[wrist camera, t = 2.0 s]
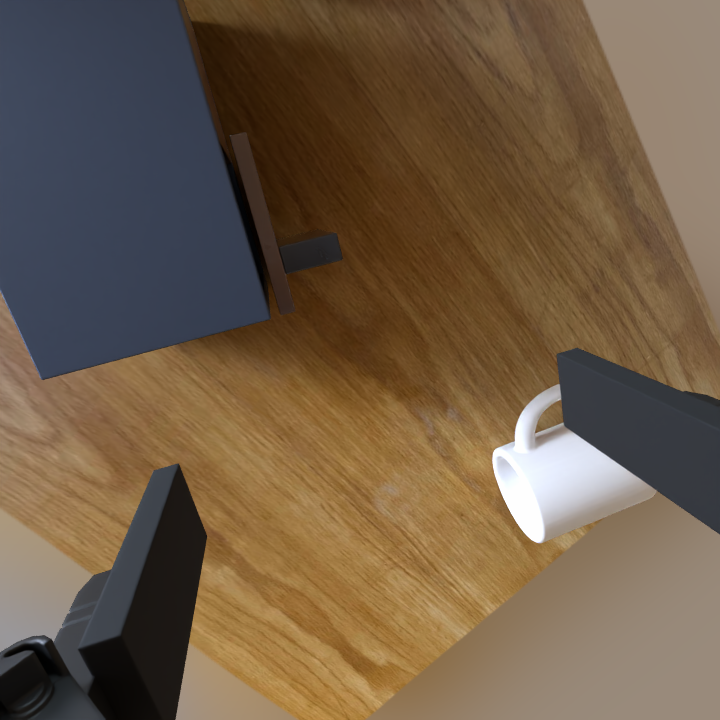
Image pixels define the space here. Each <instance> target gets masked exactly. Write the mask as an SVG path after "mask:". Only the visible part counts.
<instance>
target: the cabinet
mask: <svg viewBox="0 0 720 720" xmlns="http://www.w3.org/2000/svg"><path fill="white" fill-rule="evenodd" d="M0 292H1V294H2V296H3V298H4V300H5V302H6V304H7V307H8V309H9V311H10V313H11V315H12V317H13V320H14V322H15V324H16V326H17V328H18V330H19V332H20V335H21V337H22V339H23V341H24V343H25V345H26V347H27V350H28V352H29V354H30V356H31V358H32V360H33V363H34V365H35V367H36V369H37V371H38V373H39V375H40V378H41V379H42V380H45V379H48V378H52V377H56V376H60V375H63V374H67V373H71V372H75V371H78V370H82V369H86V368H90V367H93V366H97V365H101V364H105V363H108V362H112V361H116V360H120V359H123V358H127V357H131V356H135V355H138V354H142V353H146V352H150V351H153V350H157V349H161V348H165V347H168V346H172V345H176V344H180V343H184V342H187V341H191V340H195V339H199V338H202V337H206V336H210V335H214V334H217V333H221V332H225V331H229V330H232V329H236V328H240V327H244V326H247V325H251V324H255V323H259V322H262V321H266V320H270V319H271V315H270V304H269V292H268V285H267V281H266V278H265V274H264V271H263V267H262V264H261V261H260V257H259V254H258V250H257V247H256V243H255V240H254V236H253V233H252V230H251V226H250V223H249V219H248V216H247V212H246V209H245V205H244V202H243V199H242V195H241V192H240V188H239V185H238V181H237V178H236V174H235V171H234V167H233V164H232V161H231V157H230V154H229V150H228V147H227V143H226V140H225V136H224V133H223V130H222V126H221V123H220V119H219V116H218V112H217V109H216V105H215V102H214V99H213V95H212V92H211V88H210V85H209V81H208V78H207V74H206V71H205V68H204V64H203V61H202V57H201V54H200V50H199V47H198V43H197V40H196V37H195V33H194V30H193V26H192V23H191V19H190V17H189V14H188V11H187V8H186V6H185V3H184V0H0Z"/></svg>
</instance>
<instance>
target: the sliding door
mask: <svg viewBox="0 0 720 720" xmlns="http://www.w3.org/2000/svg"><path fill="white" fill-rule="evenodd" d="M229 137H230V141H231V144H232V148H233V151H234V155H235V158H236V162H237V165H238V169H239V172H240V176H241V179H242V183H243V186H244V190H245V193H246V197H247V200H248V203H249V207H250V210H251V214H252V217H253V221H254V224H255V228H256V231H257V235H258V238H259V242H260V245H261V249H262V252H263V256H264V259H265V263H266V266H267V270H268V273H269V277H270V280H271V284H272V287H273V290H274V294H275V297H276V301H277V304H278V308H279V311H280V314H281V315H285V314H288V313H292V312H295V311H296V310H295V306H294V303H293V299H292V295H291V292H290V288H289V284H288V281H287V277H286V274H290V273H294V272H298V271H302V270H306V269H310V268H313V267H317V266H321V265H325V264H329V263H333V262H337V261H341V260H343V257H342V253H341V249H340V245H339V241H338V236H337V233H335V232H330V231H325V230H321V229H316V230H312V231H308V232H304V233H300V234H296V235H292V236H288V237H284V238H280V239H276V237H275V234H274V230H273V227H272V223H271V219H270V216H269V212H268V209H267V205H266V201H265V198H264V194H263V190H262V187H261V183H260V180H259V176H258V172H257V169H256V165H255V161H254V158H253V154H252V151H251V147H250V143H249V140H248V136H247V133H246V132H242V133H238V134H233V135H230V136H229ZM285 273H286V274H285Z"/></svg>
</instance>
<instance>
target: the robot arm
mask: <svg viewBox="0 0 720 720" xmlns="http://www.w3.org/2000/svg"><path fill="white" fill-rule="evenodd" d="M557 363H558V372H559V382H560V391H561V401H562V410H563V420H564V426H565V427H566V428H567V429H569V430H570V431H572V432H573V433H575V434H576V435H578V436H579V437H580V438H582V439H583V440H585V441H586V442H588V443H589V444H590V445H592V446H593V447H595V448H596V449H598V450H599V451H601V452H602V453H603V454H605V455H606V456H608V457H609V458H611V459H612V460H613V461H615V462H616V463H618V464H619V465H621V466H622V467H624V468H625V469H626V470H628V471H629V472H631V473H632V474H634V475H635V476H637V477H638V478H639V479H641V480H642V481H644V482H645V483H647V484H648V485H649V486H651V487H652V488H654V489H655V490H657V491H658V492H660V493H661V494H662V495H664V496H665V497H667V498H668V499H670V500H671V501H673V502H674V503H675V504H677V505H679V506H680V507H681V508H683V509H684V510H685V511H687V512H688V513H690V514H691V515H693V516H694V517H696V518H697V519H698V520H700V521H701V522H703V523H704V524H706V525H707V526H709V527H710V528H711V529H713V530H714V531H716V532H717V533H719V534H720V400H718V399H715V398H713V397H710V396H708V395H703V394H698V393H693V392H688V391H684V392H682V391H679V390H677V389H675V388H672V387H670V386H667V385H665V384H663V383H660V382H658V381H655V380H653V379H651V378H648V377H646V376H643V375H641V374H639V373H636V372H634V371H631V370H629V369H627V368H624V367H622V366H620V365H617V364H615V363H612V362H610V361H608V360H605V359H603V358H600V357H598V356H596V355H593V354H591V353H588V352H586V351H584V350H581V349H579V348H575V349H572V350H568V351H565V352H561V353H558V354H557ZM206 540H207V535H206V532H205V530H204V527H203V524H202V522H201V519H200V517H199V514H198V512H197V509H196V506H195V504H194V501H193V499H192V496H191V494H190V491H189V488H188V486H187V483H186V481H185V478H184V476H183V473H182V470H181V468H180V465H179V463H178V464H175V465H171V466H168V467H165V468H161V469H158V470H154V471H153V474H152V476H151V478H150V481H149V483H148V485H147V488H146V490H145V492H144V495H143V497H142V499H141V502H140V504H139V506H138V509H137V511H136V513H135V516H134V518H133V520H132V523H131V525H130V527H129V530H128V532H127V534H126V537H125V539H124V541H123V544H122V546H121V548H120V551H119V553H118V555H117V558H116V560H115V562H114V565H113V567H112V569H111V570H109V571H106V572H102V573H99V574H96V575H94V576H93V577H92V578H91V579H90V580H89V581H88V582H87V583H86V584H85V586H84V587H83V588H82V589H81V590H80V591H79V592H78V594H77V596H76V598H75V600H74V602H73V604H72V606H71V608H70V610H69V611H70V613H69V614H67V616H66V618H65V620H64V623H63V624H62V626H63V628H61V629H60V630H59V633H58V635H57V636H56V639H55V641H54V643H53V641H52V639H50V638H48V637H46V636H44V635H43V636H32V637H30V638H27V639H24V640H21V641H19V642H17V643H15V644H13V645H11V646H10V647H8V648H7V649H5V650H3V651H2V652H0V720H175V719H176V713H177V707H178V702H179V696H180V690H181V684H182V679H183V673H184V667H185V661H186V655H187V650H188V644H189V638H190V632H191V627H192V621H193V615H194V609H195V603H196V598H197V592H198V586H199V580H200V575H201V569H202V563H203V557H204V551H205V546H206Z"/></svg>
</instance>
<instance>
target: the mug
mask: <svg viewBox="0 0 720 720" xmlns="http://www.w3.org/2000/svg"><path fill="white" fill-rule="evenodd" d="M559 400H561V391H560V384H557V385H555V386H553V387H550V388H548V389H547V390H545V391H543V392H542V393H540V394H539V395H537V396H536V397H535V398H534V399H533V400H532V401H531V402H530V403H529V404H528V405H527V406H526V407H525V409H524V410H523V412H522V413H521V415H520V417H519V419H518V422H517V425H516V430H515V441H514V442H512V443H509V444H506V445H504V446H501V447H499V448H497V449H495V451H494V453H493V468H494V472H495V476H496V479H497V482H498V485H499V488H500V491H501V493H502V495H503V498H504V500H505V502H506V504H507V506H508V508H509V510H510V512H511V514H512V515H513V517H514V519H515V520H516V522H517V523H518V525H519V526H520V528H521V529H522V530H523V532H524V533H525V534H526V535H527V536H528V537H529V538H530V539H531V540H533V541H534V542H537V543H543V542H545V541H548V540H550V539H553V538H555V537H558V536H560V535H563V534H565V533H568V532H570V531H572V530H575V529H577V528H580V527H582V526H585V525H587V524H590V523H592V522H595V521H597V520H600V519H602V518H604V517H607V516H609V515H612V514H614V513H617V512H619V511H622V510H624V509H627V508H629V507H631V506H634V505H636V504H639V503H641V502H644V501H646V500H648V499H651V498H652V497H653V496H654V495H655V494H656V492H657V490H655V489H654V488H652V487H651V486H649V485H648V484H647V483H645V482H644V481H642V480H641V479H639V478H638V477H637V476H635V475H634V474H632V473H631V472H629V471H628V470H626V469H625V468H624V467H622V466H621V465H619V464H618V463H616V462H615V461H613V460H612V459H611V458H609V457H608V456H606V455H605V454H603V453H602V452H601V451H599V450H598V449H596V448H595V447H593V446H592V445H590V444H589V443H588V442H586V441H585V440H583V439H582V438H580V437H579V436H578V435H576V434H575V433H573V432H572V431H570V430H569V429H567V428H566V427H565V426H564V422H563V423H561V424H558V425H556V426H553V427H551V428H548V429H545V430H543V431H540V432H538V433H535V429H536V425H537V422H538V420H539V418H540V416H541V414H542V413H543V412H544V410H545V409H547V408H548V407H549V406H550V405H552V404H553V403H555V402H557V401H559Z"/></svg>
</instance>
